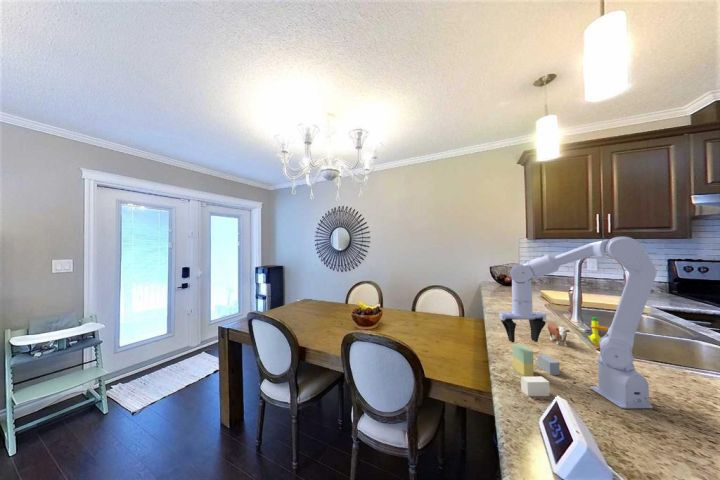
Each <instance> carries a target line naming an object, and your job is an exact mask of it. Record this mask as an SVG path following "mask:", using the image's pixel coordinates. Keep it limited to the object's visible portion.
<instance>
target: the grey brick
mask: <svg viewBox="0 0 720 480" xmlns="http://www.w3.org/2000/svg"><path fill="white" fill-rule="evenodd" d="M536 359H537V360H536V361H537V367H539V368H540V369H541V370H543V371H544V372H546V373H547V374H549V375H552V376H553V375H554V376H555V375H560V362H559V361H557V359H554V358H552V357H551V356H550V355H548V354H537V357H536Z"/></svg>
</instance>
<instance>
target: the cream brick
mask: <svg viewBox="0 0 720 480" xmlns="http://www.w3.org/2000/svg"><path fill="white" fill-rule="evenodd" d="M520 388H521V389H520V390H521V392H523V393H524V395H526V396H527V397H550V381H548V380H547V379H545V378H544V376H539V375H538V376H533V377H524V376H520Z"/></svg>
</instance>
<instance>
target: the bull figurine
mask: <svg viewBox="0 0 720 480" xmlns="http://www.w3.org/2000/svg"><path fill="white" fill-rule="evenodd" d="M547 330H548V336H549V340H551V342H554V340H555V339H556V340H555V341H556V344H557V345H556V346H559V345H560V341H562V342H563V346H564V347H565V346H566V348H568V344H567V335H568V334H567V333H570V329H565V327H563V326H559V325H558V324H555V323H553V322H549V323H548V324H547ZM553 336H554V339H553Z"/></svg>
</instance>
